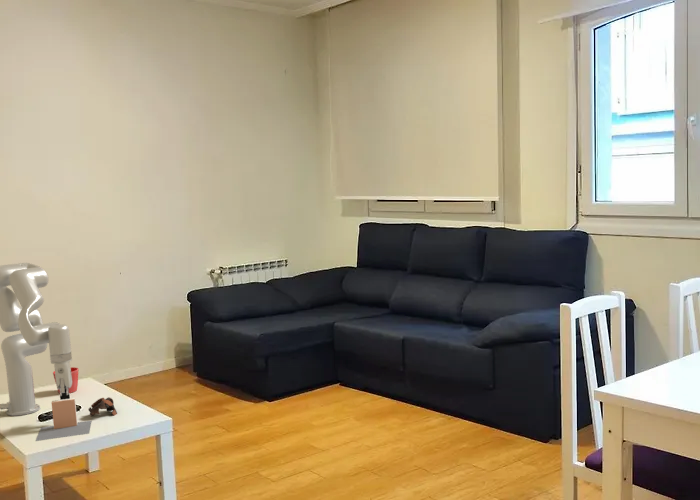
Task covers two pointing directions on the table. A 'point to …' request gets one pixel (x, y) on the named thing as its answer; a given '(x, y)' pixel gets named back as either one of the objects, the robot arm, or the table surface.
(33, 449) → the table surface
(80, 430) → the mat
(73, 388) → the flower pot
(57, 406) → the tile
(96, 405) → the broken clay vessel
